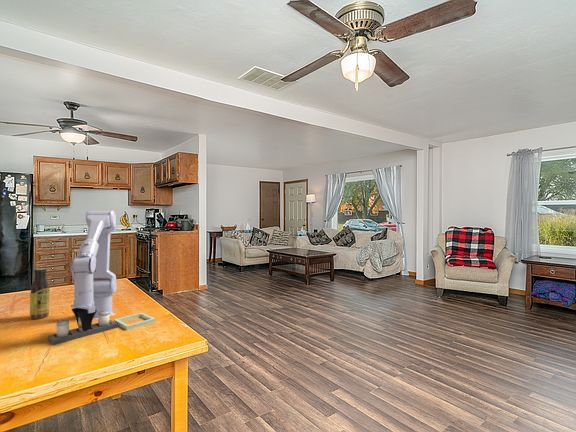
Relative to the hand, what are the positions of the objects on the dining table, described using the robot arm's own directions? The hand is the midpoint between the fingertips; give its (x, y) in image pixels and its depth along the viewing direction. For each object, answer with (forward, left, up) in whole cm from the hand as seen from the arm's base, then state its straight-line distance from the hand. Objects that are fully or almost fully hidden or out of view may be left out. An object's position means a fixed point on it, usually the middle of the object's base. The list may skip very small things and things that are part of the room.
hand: (84, 328), depth 114 cm
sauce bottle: (-34, -5, -2) cm, 34 cm away
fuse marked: (0, 0, -2) cm, 2 cm away
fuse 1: (0, -7, -2) cm, 7 cm away
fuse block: (0, 0, -2) cm, 2 cm away
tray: (+3, +16, -2) cm, 17 cm away
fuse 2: (0, +6, -2) cm, 7 cm away
